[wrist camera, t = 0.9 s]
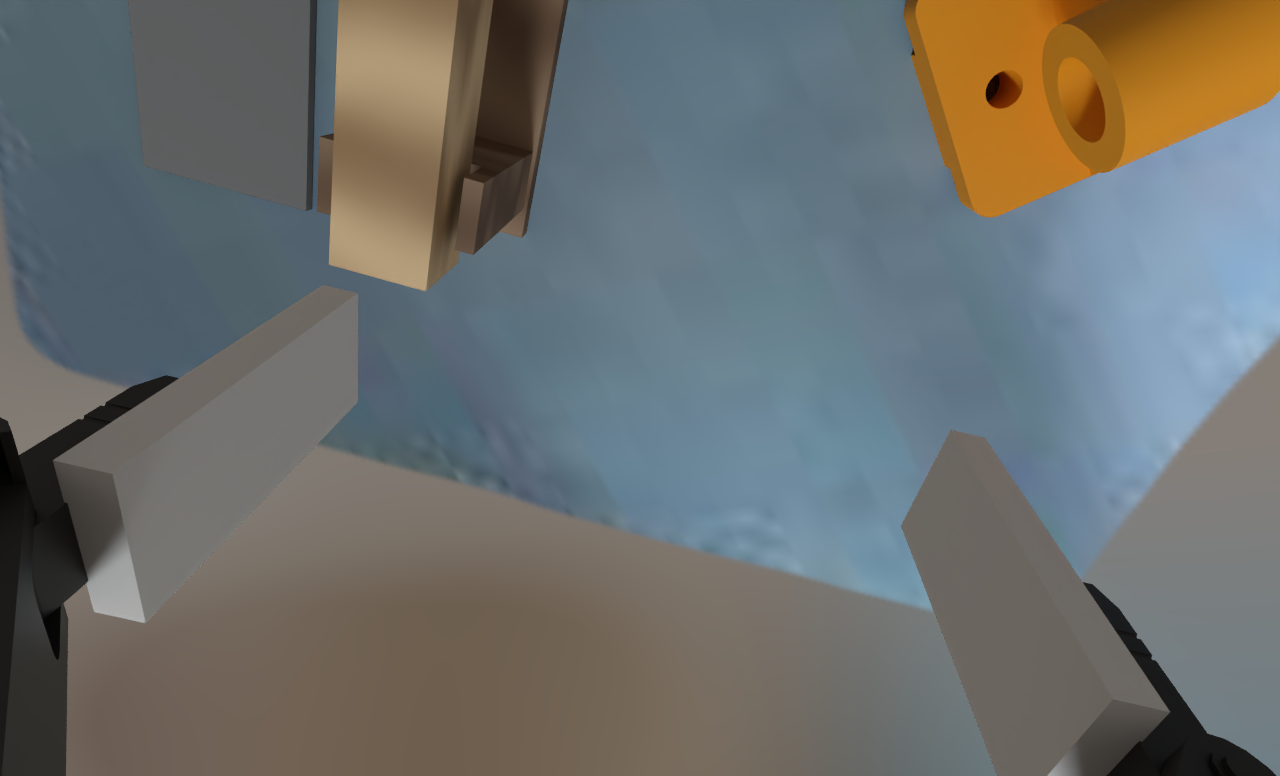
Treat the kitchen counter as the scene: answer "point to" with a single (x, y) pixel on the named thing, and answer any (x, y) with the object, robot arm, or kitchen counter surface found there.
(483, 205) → the bracket
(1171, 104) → the orange hinge mount
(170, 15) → the mat
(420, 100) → the rail
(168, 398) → the robot arm
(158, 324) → the kitchen counter surface
